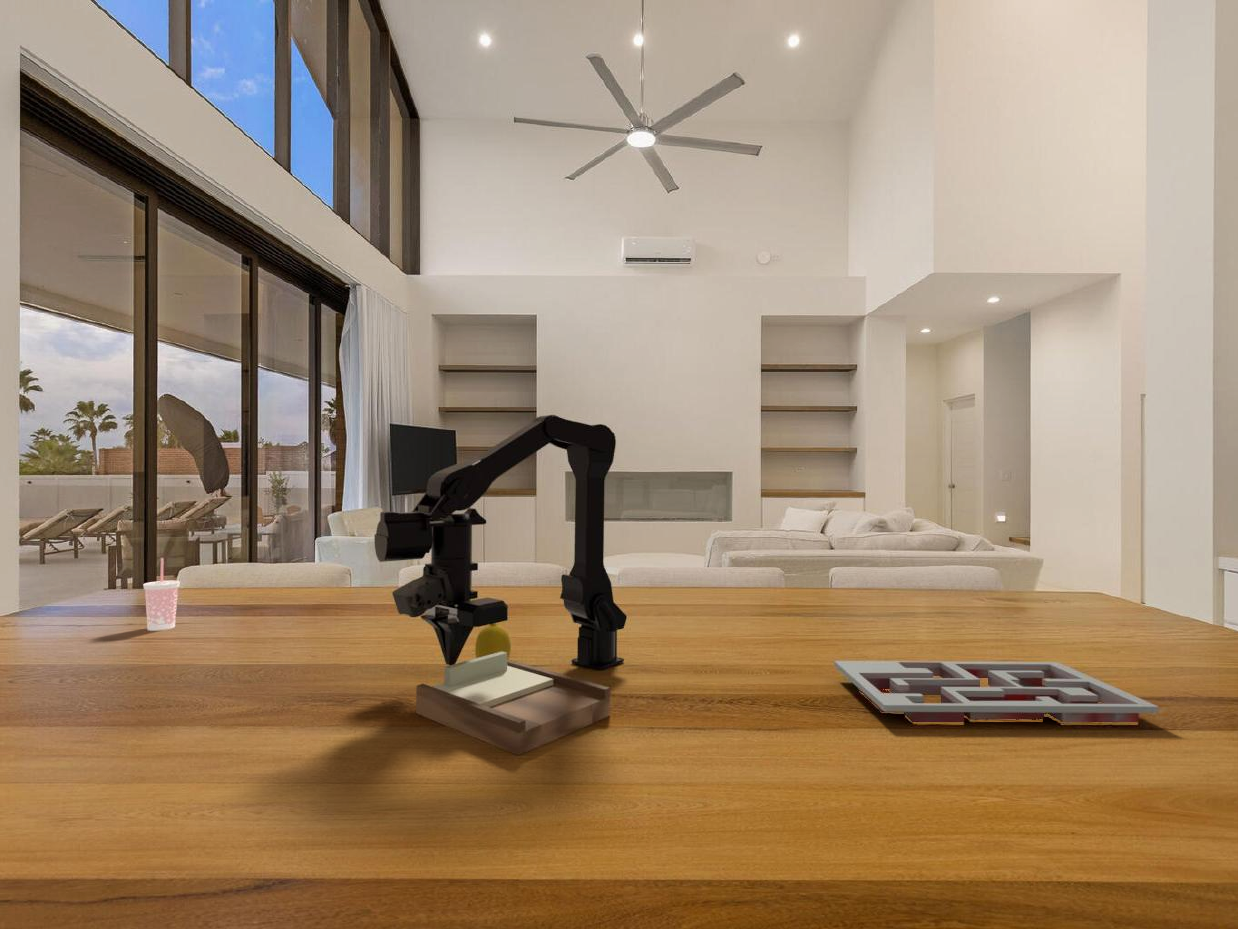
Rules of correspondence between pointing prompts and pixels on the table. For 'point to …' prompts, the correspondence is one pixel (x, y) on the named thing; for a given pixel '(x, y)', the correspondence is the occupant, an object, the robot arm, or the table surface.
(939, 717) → the maze game
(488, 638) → the lemon
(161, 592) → the beverage cup
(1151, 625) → the table surface
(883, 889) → the table surface
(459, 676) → the cover
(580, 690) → the sliding lid box
